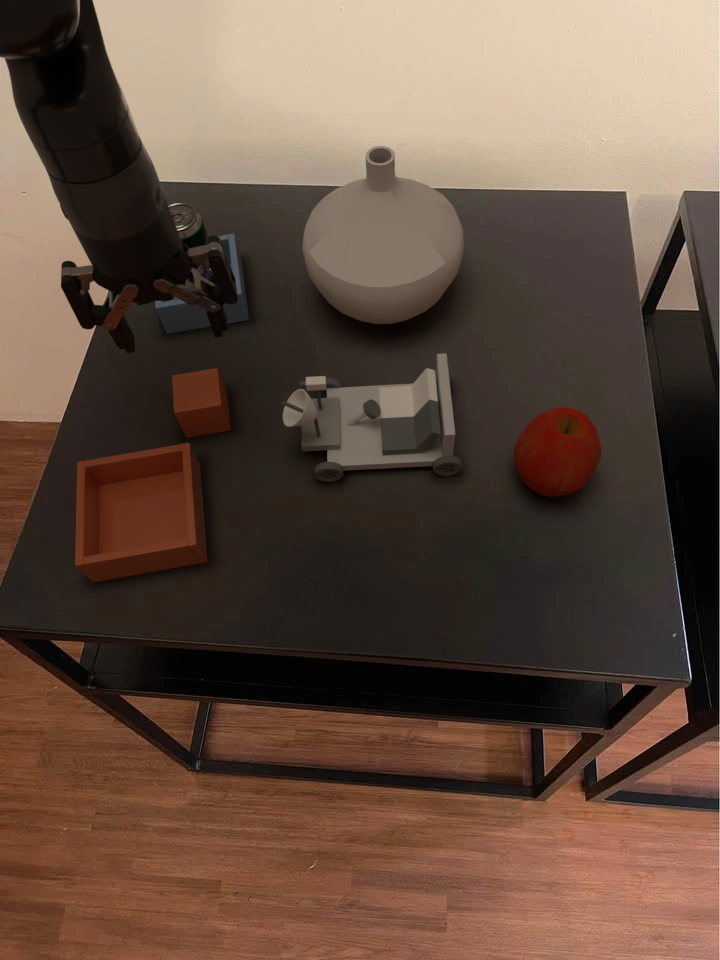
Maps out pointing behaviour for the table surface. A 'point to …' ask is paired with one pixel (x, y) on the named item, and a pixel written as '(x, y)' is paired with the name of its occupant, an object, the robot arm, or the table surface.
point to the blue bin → (194, 317)
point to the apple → (558, 452)
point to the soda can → (191, 232)
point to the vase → (383, 244)
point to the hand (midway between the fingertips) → (174, 338)
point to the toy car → (377, 423)
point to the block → (201, 402)
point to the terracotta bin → (139, 513)
